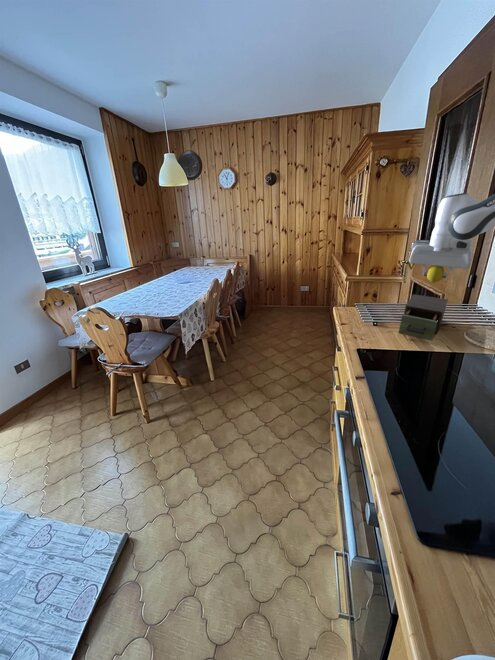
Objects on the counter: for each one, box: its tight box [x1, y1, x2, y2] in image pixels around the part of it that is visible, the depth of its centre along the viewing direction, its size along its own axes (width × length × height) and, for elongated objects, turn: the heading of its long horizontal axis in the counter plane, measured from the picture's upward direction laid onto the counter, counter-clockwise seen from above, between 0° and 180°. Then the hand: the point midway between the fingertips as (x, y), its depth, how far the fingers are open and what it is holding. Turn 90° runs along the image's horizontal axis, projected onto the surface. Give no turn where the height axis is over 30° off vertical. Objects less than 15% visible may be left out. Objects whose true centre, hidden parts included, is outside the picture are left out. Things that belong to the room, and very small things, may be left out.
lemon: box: [426, 265, 445, 284], centre depth 112 cm, size 6×6×8 cm
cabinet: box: [403, 293, 449, 336], centre depth 118 cm, size 15×13×10 cm
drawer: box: [397, 308, 439, 342], centre depth 110 cm, size 18×12×8 cm, turn 142°
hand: (434, 276), depth 113 cm, fingers closed on lemon, 5 cm apart
